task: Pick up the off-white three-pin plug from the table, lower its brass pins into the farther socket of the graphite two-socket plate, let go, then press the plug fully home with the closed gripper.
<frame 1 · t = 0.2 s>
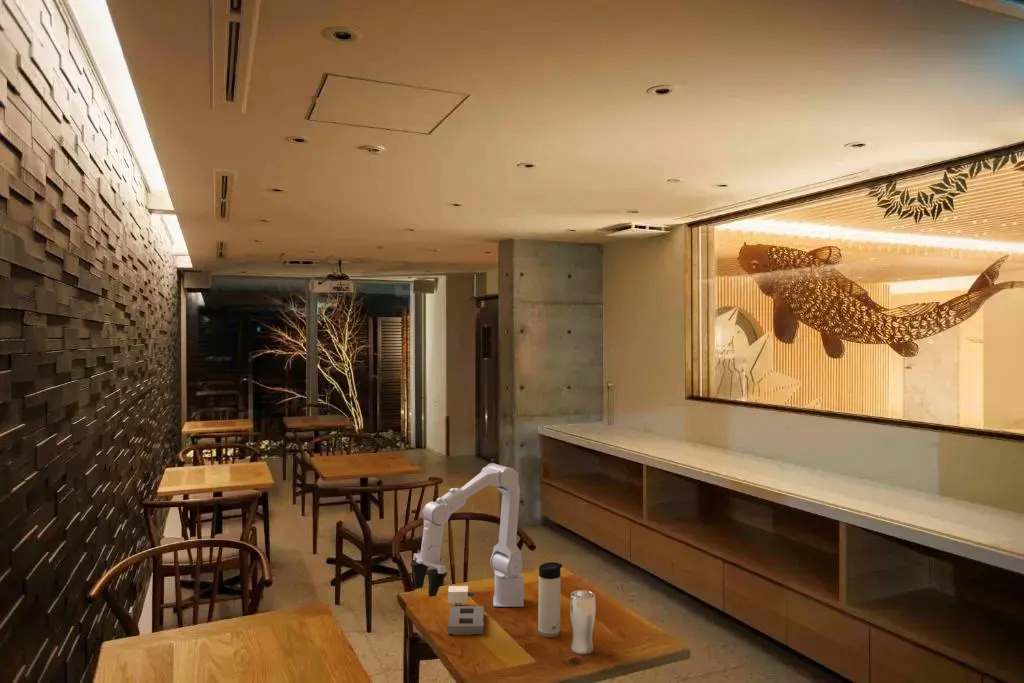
hand: (425, 591, 203), 11 cm above the table, tool pointing down, fingers open, 7 cm apart
beer glass: (582, 649, 191), on the table
plug: (458, 606, 219), on the table
socket plate: (466, 624, 206), on the table
travel mug: (549, 633, 201), on the table
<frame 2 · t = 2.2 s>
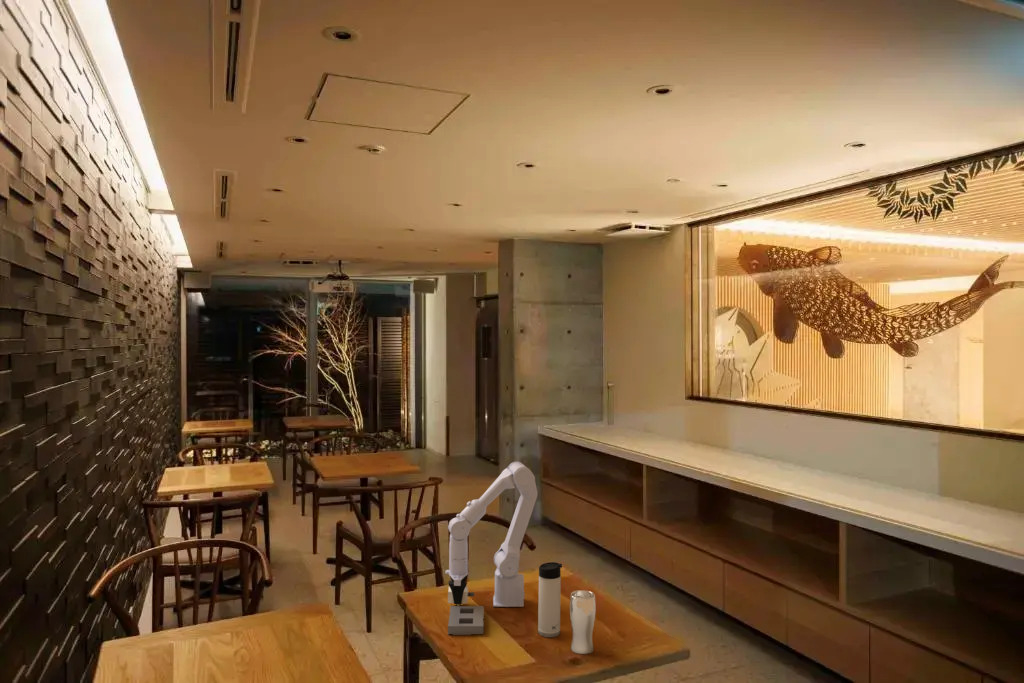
hand: (458, 600, 219), 2 cm above the table, tool pointing down, fingers closed on plug, 5 cm apart
plug: (458, 606, 219), on the table, touching gripper
everything else where it was.
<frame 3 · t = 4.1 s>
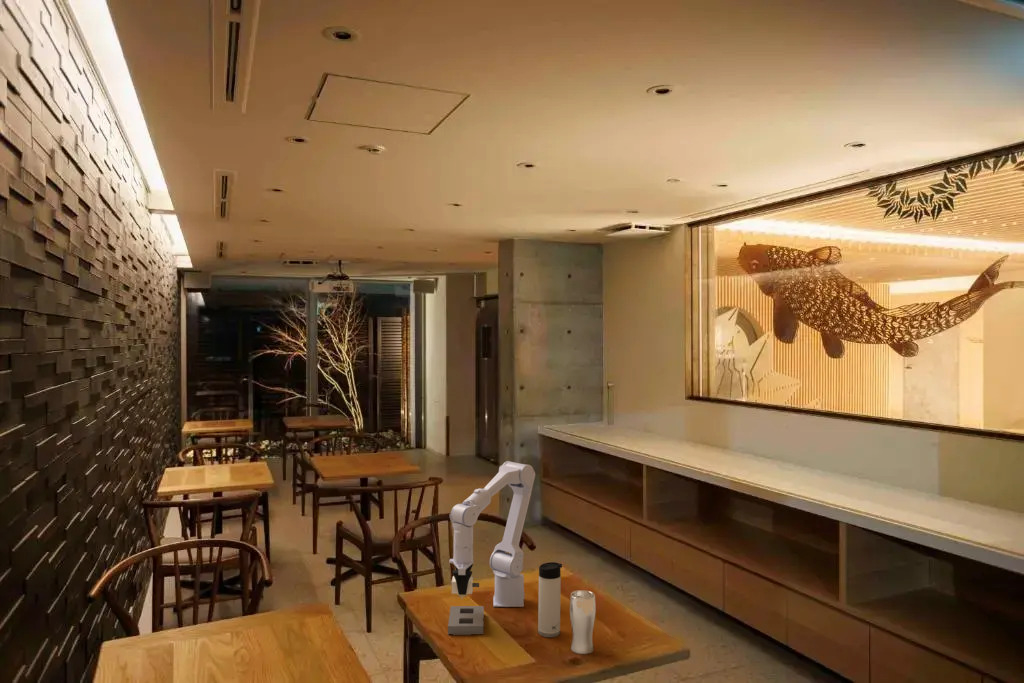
hand: (462, 590, 209), 9 cm above the table, tool pointing down, fingers closed on plug, 5 cm apart
plug: (462, 597, 209), point 7 cm above the table, touching gripper
everything else where it was.
when the fingers open (4 cm above the table, at t = 6.0 s): plug drops 1 cm, resting on socket plate.
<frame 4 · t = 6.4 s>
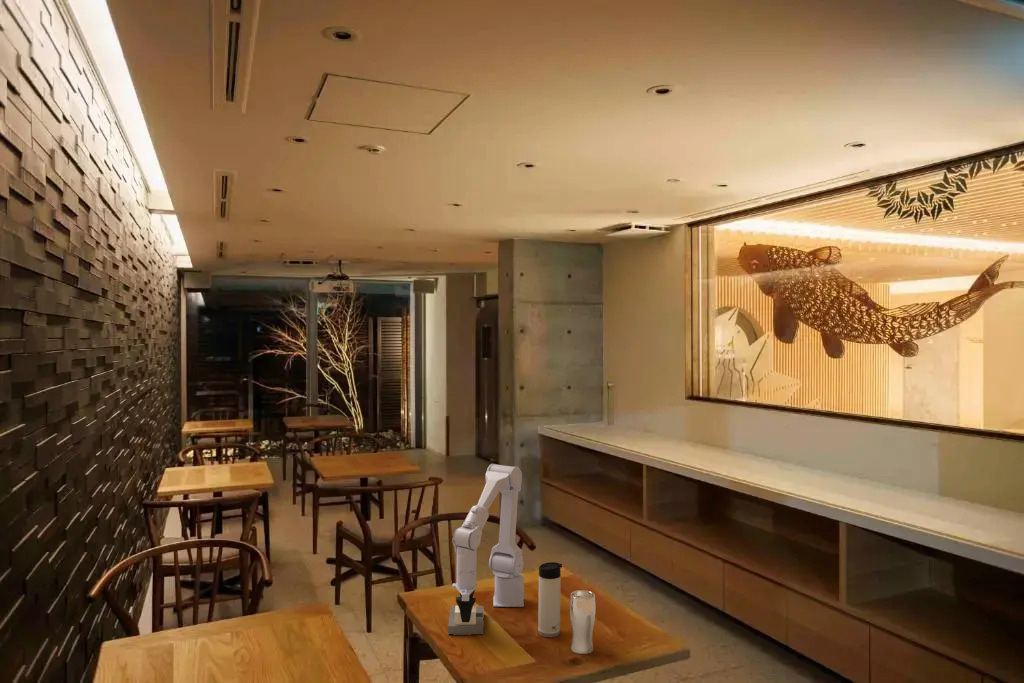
hand: (466, 616, 203), 4 cm above the table, tool pointing down, fingers open, 7 cm apart
plug: (465, 627, 203), resting on socket plate
everything else where it was.
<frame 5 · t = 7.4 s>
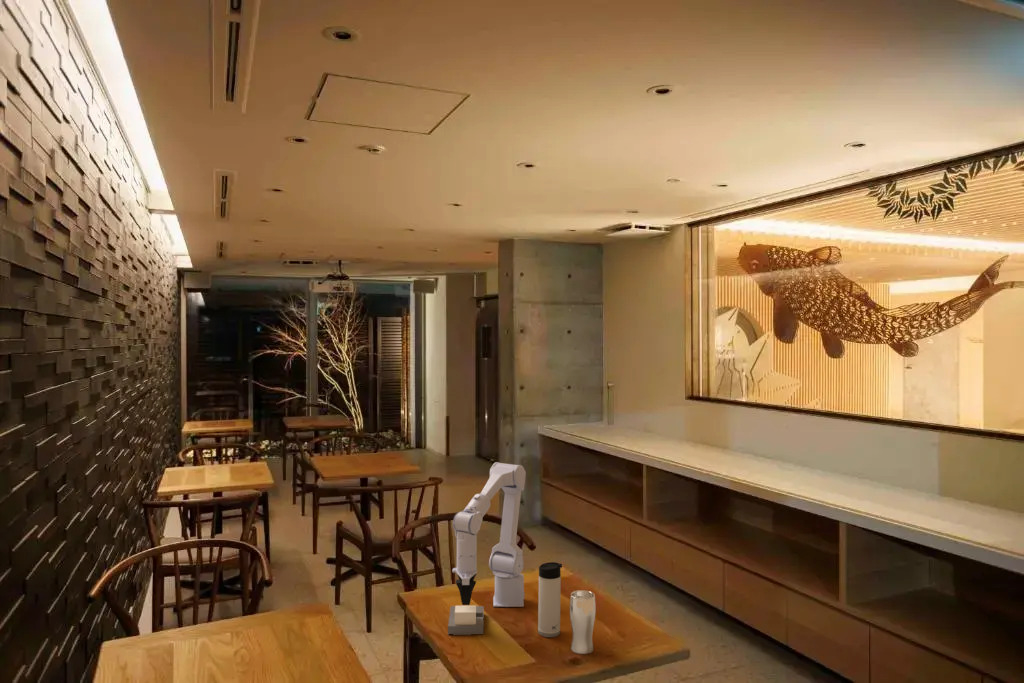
hand: (466, 600, 203), 8 cm above the table, tool pointing down, fingers open, 5 cm apart
nothing on the table moved.
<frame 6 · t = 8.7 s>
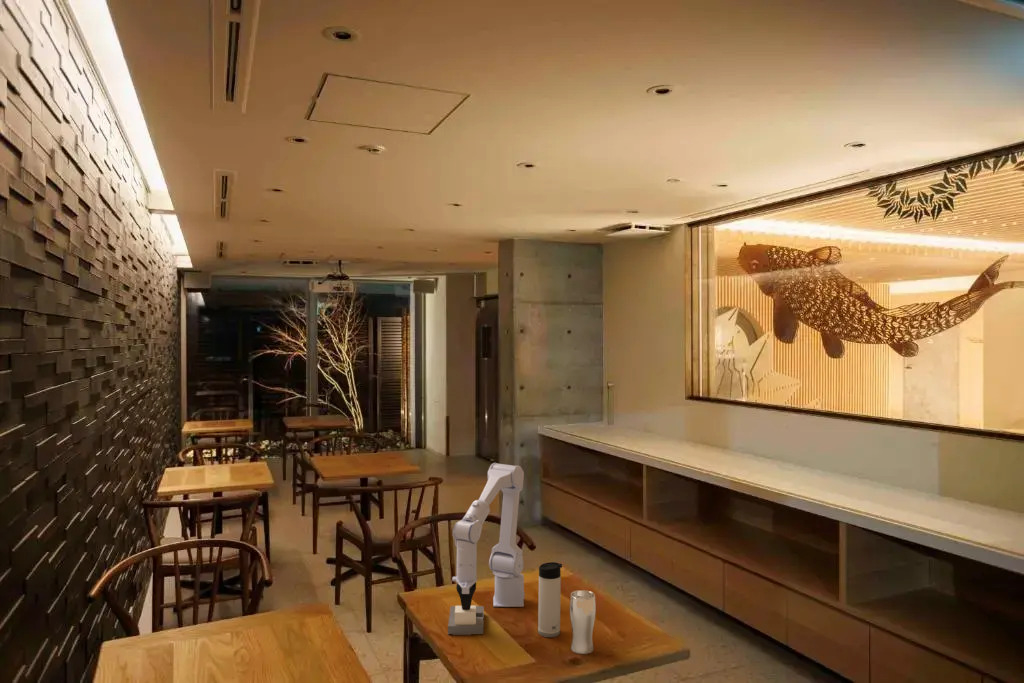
hand: (466, 609, 203), 6 cm above the table, tool pointing down, fingers closed, pressing on plug
plug: (465, 627, 203), resting on socket plate, touching gripper
everything else where it was.
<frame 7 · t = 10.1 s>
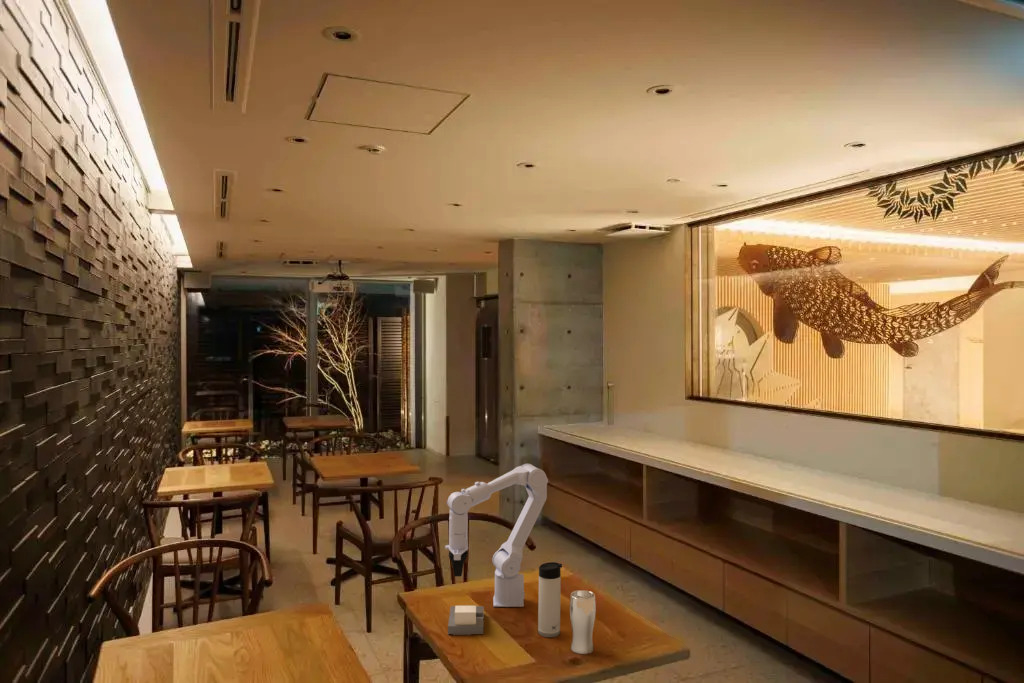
hand: (458, 575, 217), 10 cm above the table, tool pointing down, fingers closed
plug: (465, 627, 203), resting on socket plate
everything else where it was.
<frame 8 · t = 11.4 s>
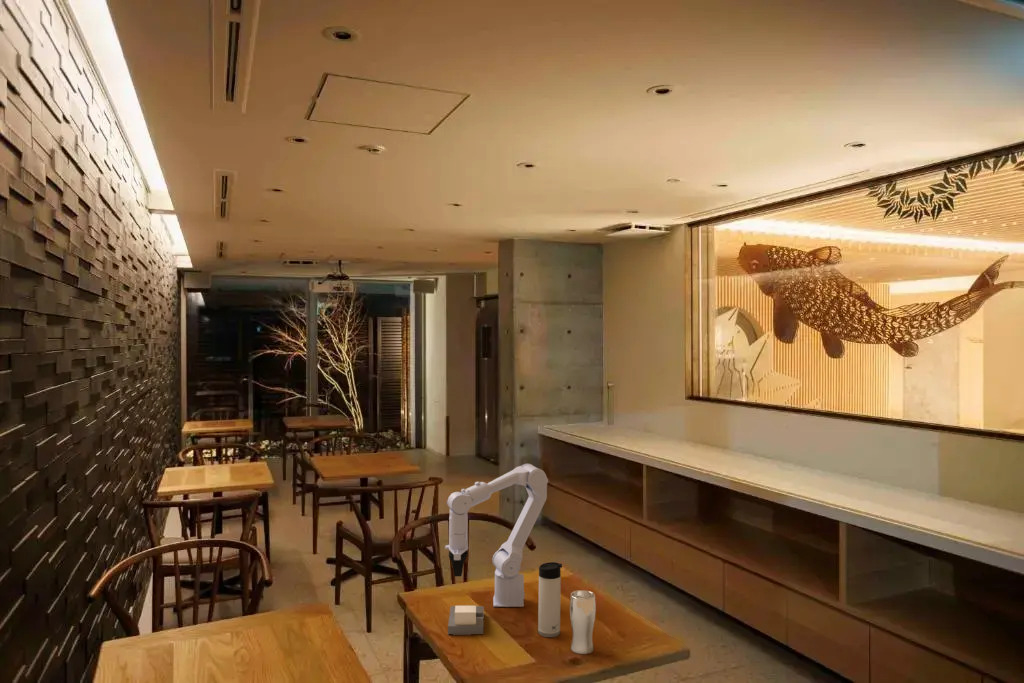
hand: (458, 575, 217), 10 cm above the table, tool pointing down, fingers closed
nothing on the table moved.
at the end: plug 0.2 cm from the target spot on the socket plate, point 0.5 cm above the socket plate's base; plug tilted 0°; the gripper is holding nothing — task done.
